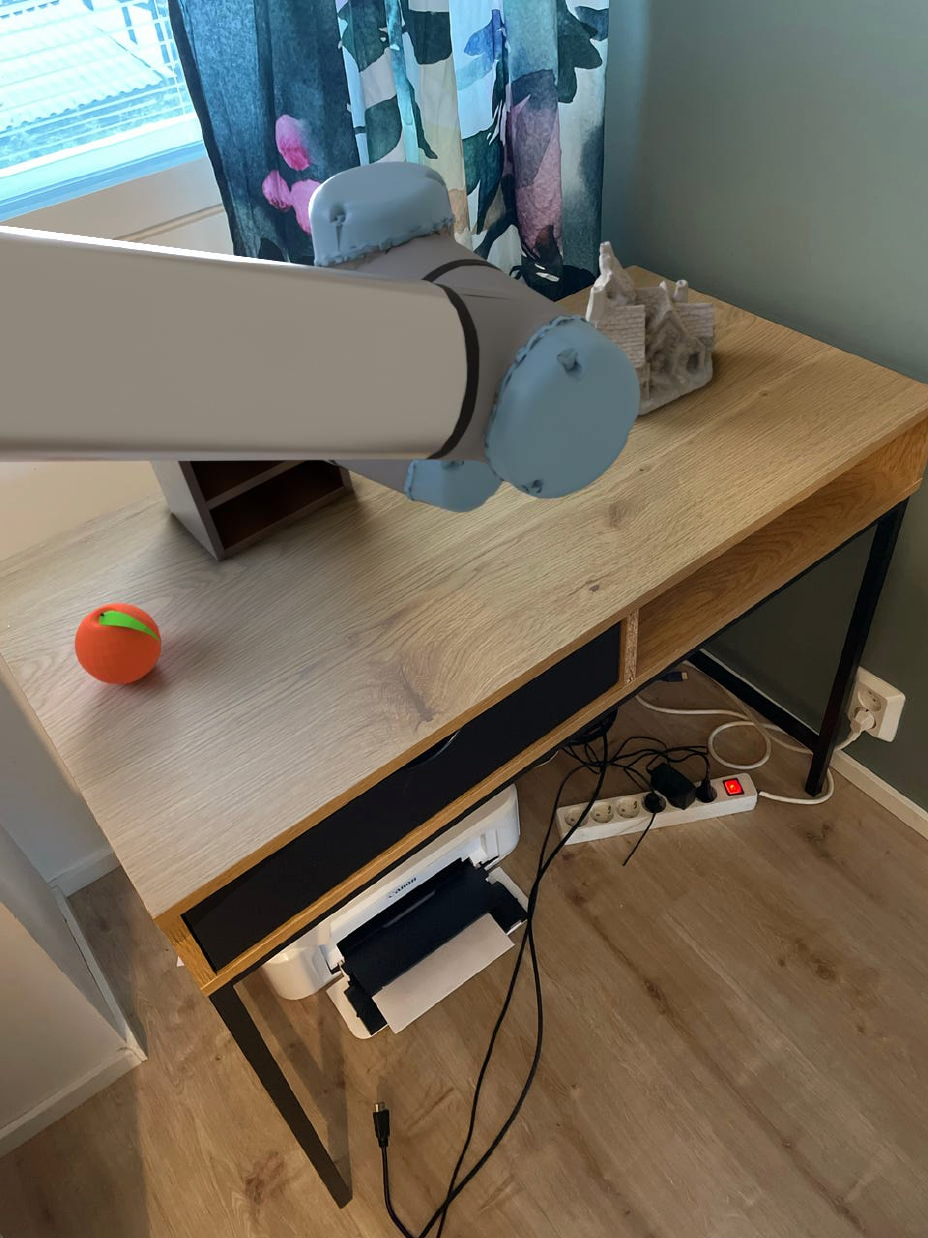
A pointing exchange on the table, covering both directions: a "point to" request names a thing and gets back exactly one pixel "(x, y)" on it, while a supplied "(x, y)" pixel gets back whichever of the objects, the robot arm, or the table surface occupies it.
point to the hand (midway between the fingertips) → (112, 322)
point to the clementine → (118, 643)
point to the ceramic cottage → (654, 332)
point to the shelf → (246, 497)
